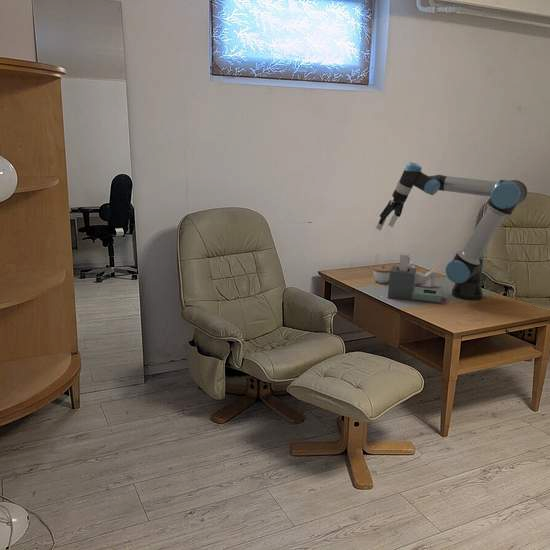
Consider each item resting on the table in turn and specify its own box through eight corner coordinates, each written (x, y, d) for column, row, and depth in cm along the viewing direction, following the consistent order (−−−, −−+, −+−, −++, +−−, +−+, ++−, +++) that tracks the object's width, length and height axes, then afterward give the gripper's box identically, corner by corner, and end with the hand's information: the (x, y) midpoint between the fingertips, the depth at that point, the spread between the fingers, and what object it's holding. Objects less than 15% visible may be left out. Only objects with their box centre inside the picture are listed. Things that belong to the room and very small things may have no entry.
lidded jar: (368, 280, 305) (369, 264, 302) (381, 278, 311) (382, 262, 308) (382, 285, 296) (384, 268, 294) (395, 282, 303) (397, 266, 300)
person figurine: (430, 263, 303) (404, 260, 295) (443, 273, 292) (416, 270, 285) (421, 284, 308) (395, 281, 300) (434, 294, 297) (407, 292, 290)
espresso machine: (442, 297, 277) (444, 271, 273) (441, 304, 266) (443, 276, 262) (390, 291, 285) (392, 265, 281) (387, 297, 274) (389, 271, 270)
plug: (408, 275, 276) (410, 254, 273) (407, 276, 272) (409, 255, 269) (399, 274, 277) (401, 253, 274) (398, 275, 274) (400, 254, 271)
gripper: (406, 187, 289) (389, 221, 299) (384, 190, 270) (367, 226, 280) (418, 193, 286) (400, 228, 295) (396, 197, 267) (378, 234, 277)
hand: (384, 227), depth 288 cm, fingers open, 13 cm apart
